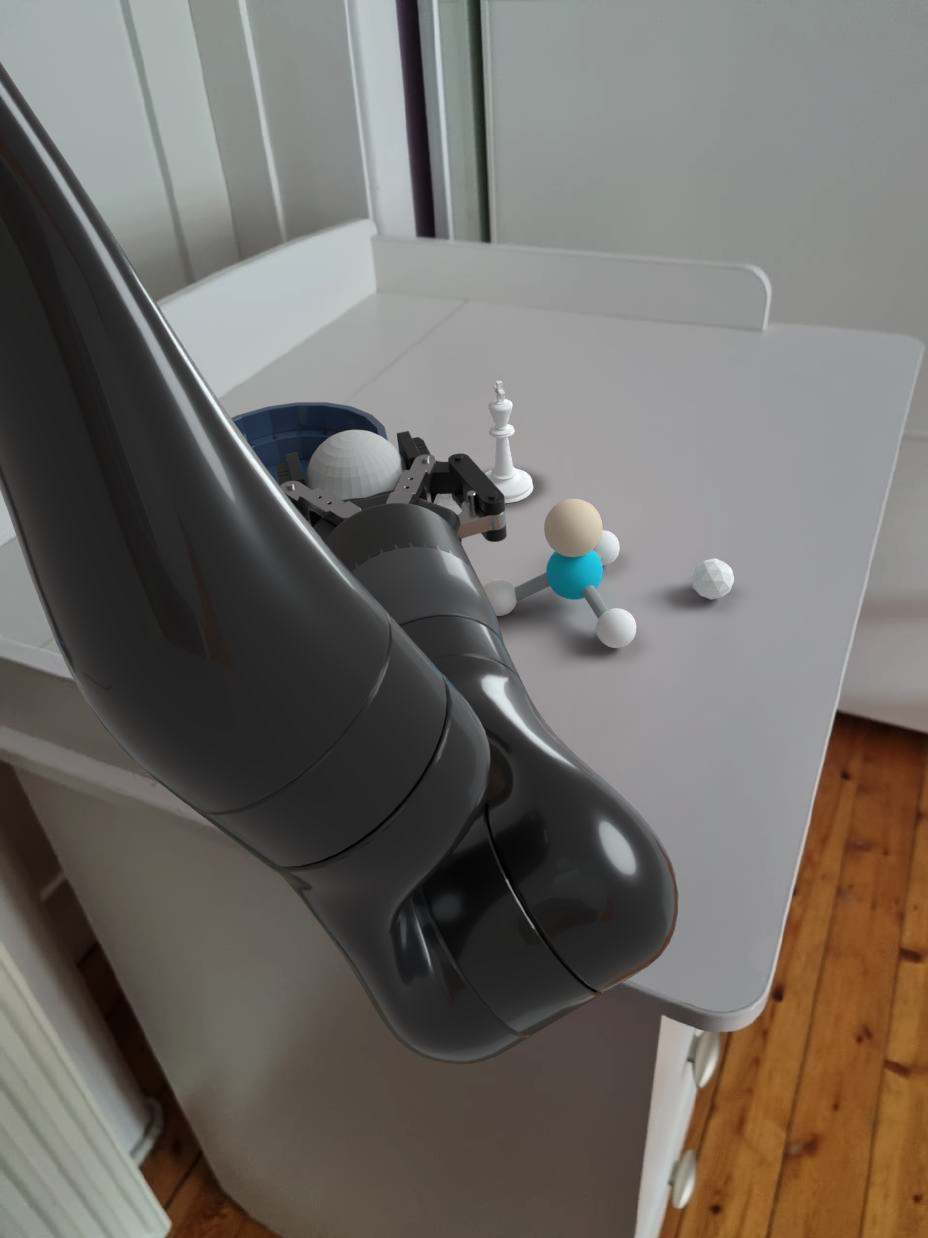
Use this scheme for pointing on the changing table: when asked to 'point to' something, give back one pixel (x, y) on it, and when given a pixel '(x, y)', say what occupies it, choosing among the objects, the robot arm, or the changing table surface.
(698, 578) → the polyhedron
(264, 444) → the bowl
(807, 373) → the changing table surface
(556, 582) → the molecule model
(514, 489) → the chess piece
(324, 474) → the lollipop
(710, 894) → the changing table surface
